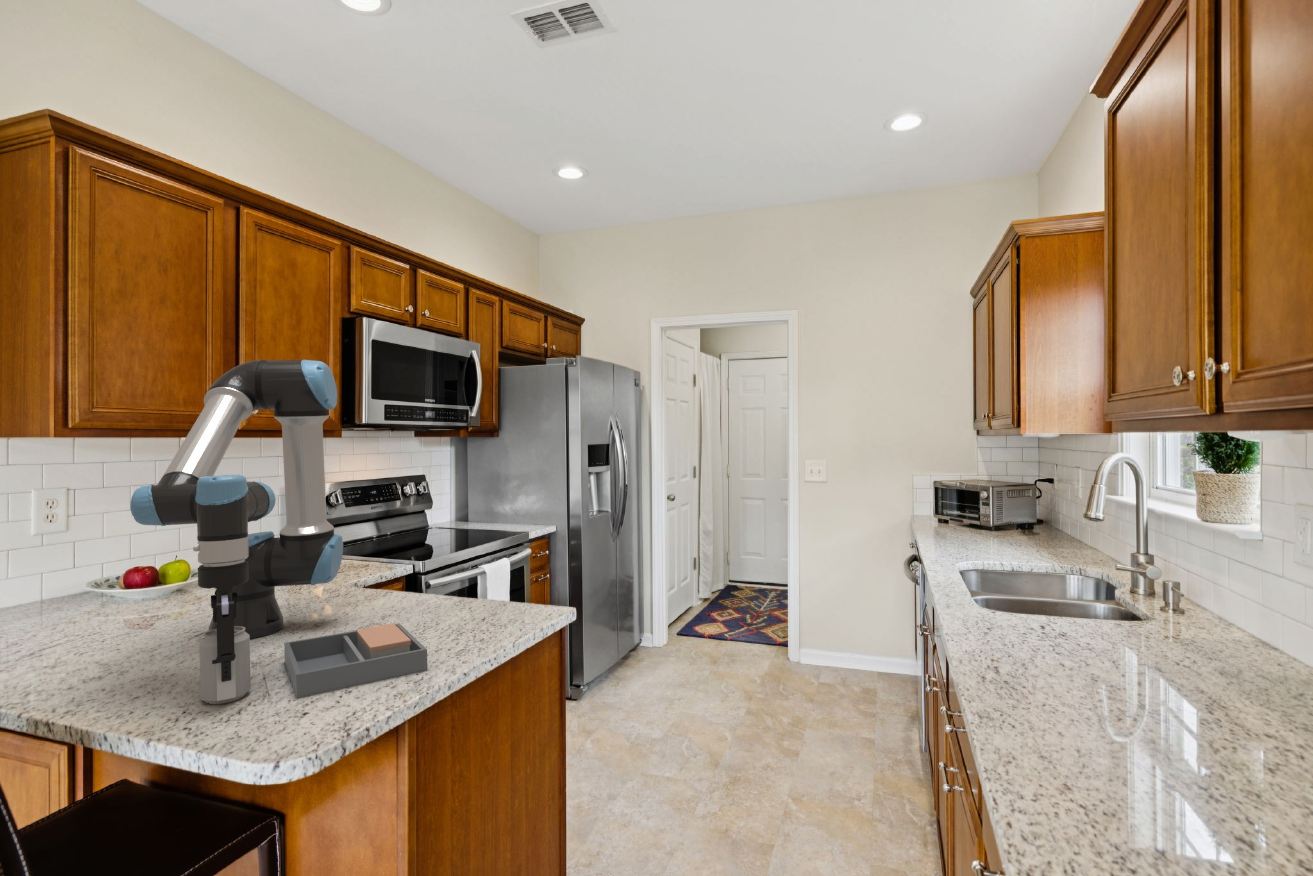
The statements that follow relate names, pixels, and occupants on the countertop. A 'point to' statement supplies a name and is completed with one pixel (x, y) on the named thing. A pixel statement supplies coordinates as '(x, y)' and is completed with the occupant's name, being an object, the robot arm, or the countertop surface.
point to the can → (209, 670)
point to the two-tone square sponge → (382, 641)
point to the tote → (345, 663)
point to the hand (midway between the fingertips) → (226, 690)
